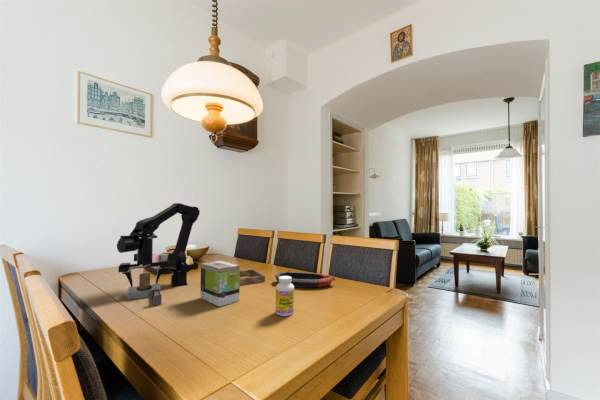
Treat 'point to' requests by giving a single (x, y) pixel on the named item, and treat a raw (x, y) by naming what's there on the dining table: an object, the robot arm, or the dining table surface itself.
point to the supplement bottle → (285, 296)
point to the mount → (142, 292)
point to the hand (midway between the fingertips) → (144, 285)
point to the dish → (307, 279)
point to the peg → (144, 281)
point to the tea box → (220, 282)
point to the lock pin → (157, 298)
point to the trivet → (250, 280)
